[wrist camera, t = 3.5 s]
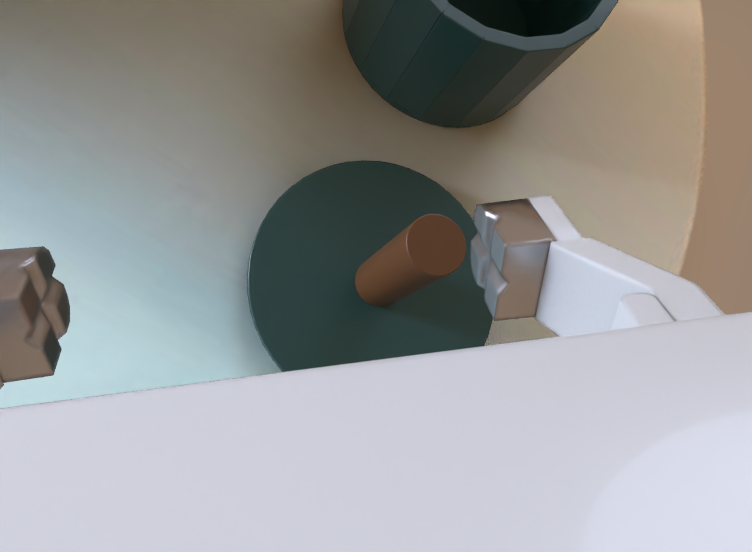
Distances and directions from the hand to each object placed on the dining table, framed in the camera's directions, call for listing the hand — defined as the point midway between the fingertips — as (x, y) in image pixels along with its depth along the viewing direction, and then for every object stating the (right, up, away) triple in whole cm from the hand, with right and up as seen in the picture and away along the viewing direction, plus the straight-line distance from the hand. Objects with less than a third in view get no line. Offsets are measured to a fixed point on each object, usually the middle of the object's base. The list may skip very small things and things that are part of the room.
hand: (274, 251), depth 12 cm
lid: (+2, -1, +24) cm, 24 cm away
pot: (+6, +16, +29) cm, 34 cm away
